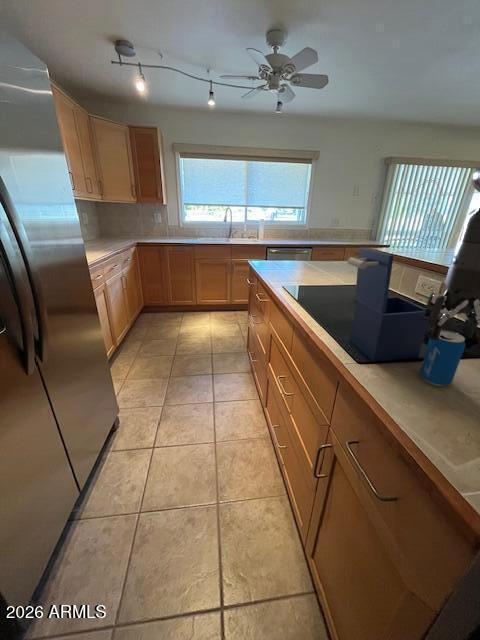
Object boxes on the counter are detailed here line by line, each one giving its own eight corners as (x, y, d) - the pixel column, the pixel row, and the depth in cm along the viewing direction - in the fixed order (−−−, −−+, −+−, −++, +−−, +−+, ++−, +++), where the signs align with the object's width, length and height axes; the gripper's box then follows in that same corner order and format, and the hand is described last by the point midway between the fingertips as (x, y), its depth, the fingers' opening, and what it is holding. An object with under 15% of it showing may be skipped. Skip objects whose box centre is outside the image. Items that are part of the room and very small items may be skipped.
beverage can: (412, 374, 66) (424, 332, 61) (431, 369, 67) (445, 327, 62) (437, 390, 60) (452, 344, 55) (457, 384, 62) (474, 339, 57)
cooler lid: (362, 247, 71) (341, 250, 71) (393, 255, 60) (369, 258, 59) (358, 297, 77) (338, 299, 77) (385, 312, 66) (362, 316, 65)
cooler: (389, 336, 84) (398, 296, 79) (418, 357, 73) (431, 311, 67) (349, 340, 83) (356, 299, 77) (373, 361, 71) (383, 315, 66)
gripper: (459, 270, 48) (434, 348, 54) (525, 267, 50) (494, 342, 56) (427, 263, 55) (408, 332, 61) (486, 260, 56) (461, 328, 63)
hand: (449, 337), depth 59 cm, fingers open, 8 cm apart
